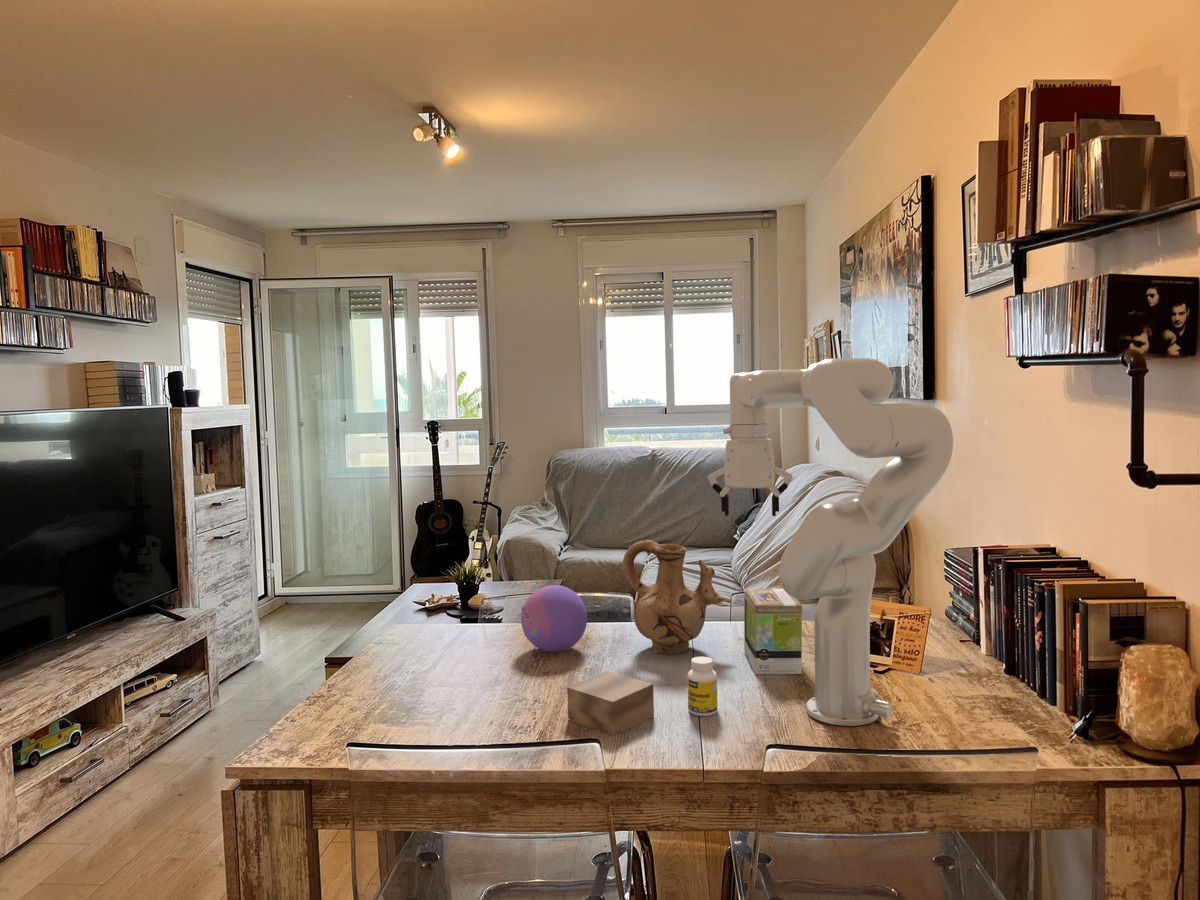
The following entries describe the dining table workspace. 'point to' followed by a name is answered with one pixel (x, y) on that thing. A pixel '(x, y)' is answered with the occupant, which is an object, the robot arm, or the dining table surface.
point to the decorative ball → (554, 618)
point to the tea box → (773, 631)
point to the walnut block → (610, 702)
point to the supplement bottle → (702, 687)
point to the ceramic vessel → (669, 598)
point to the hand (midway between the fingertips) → (750, 515)
